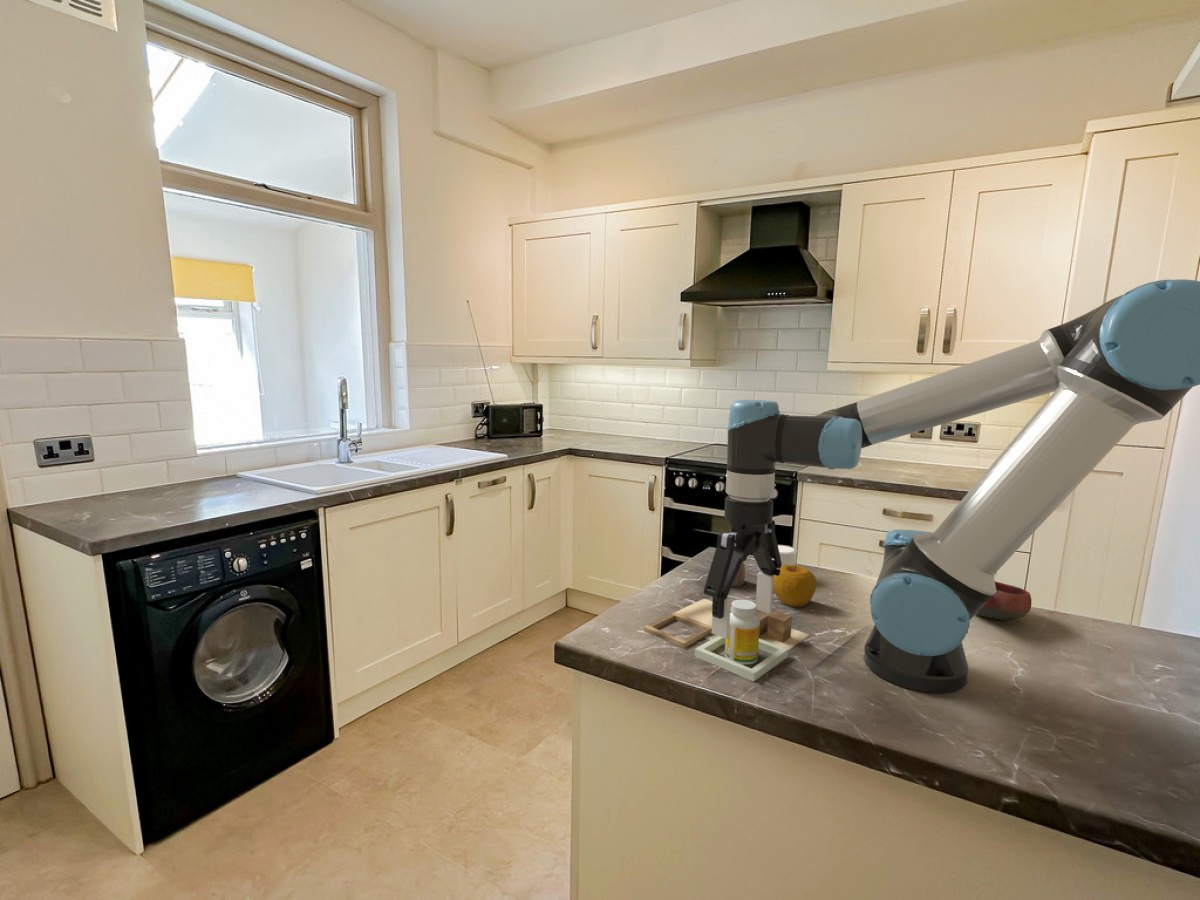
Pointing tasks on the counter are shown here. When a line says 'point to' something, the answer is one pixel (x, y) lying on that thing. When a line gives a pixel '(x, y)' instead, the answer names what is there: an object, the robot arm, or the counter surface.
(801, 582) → the apple
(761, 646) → the tray
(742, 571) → the vase
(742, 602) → the supplement bottle
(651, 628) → the oak collar
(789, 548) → the white cylinder
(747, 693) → the counter surface
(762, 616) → the walnut block
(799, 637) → the board
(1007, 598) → the bowl
